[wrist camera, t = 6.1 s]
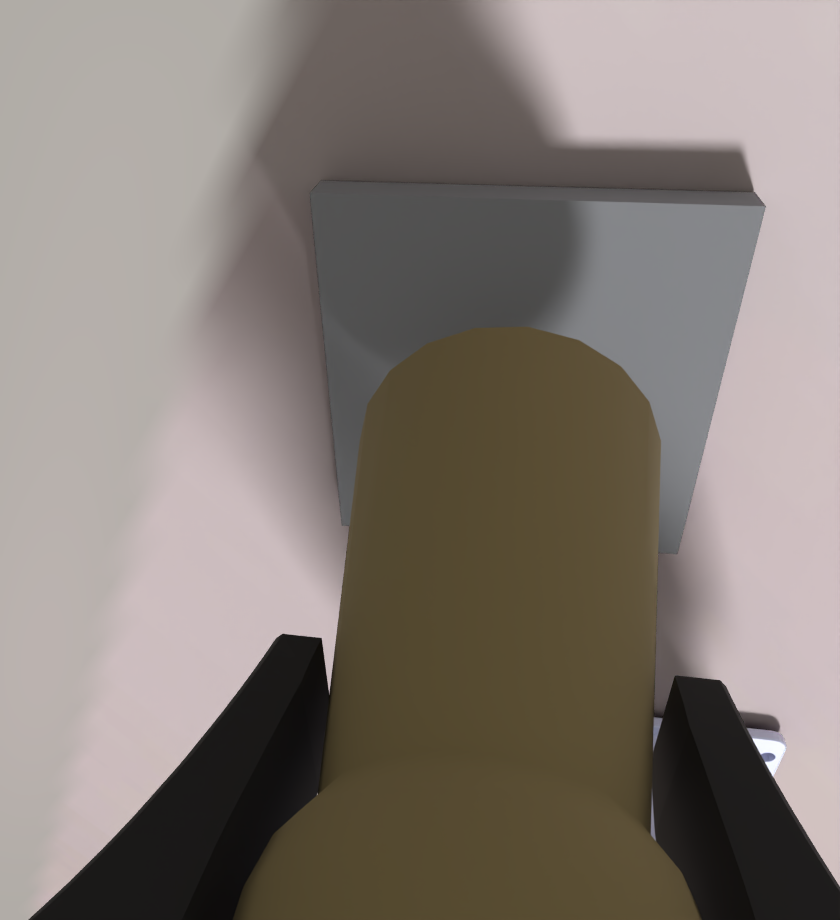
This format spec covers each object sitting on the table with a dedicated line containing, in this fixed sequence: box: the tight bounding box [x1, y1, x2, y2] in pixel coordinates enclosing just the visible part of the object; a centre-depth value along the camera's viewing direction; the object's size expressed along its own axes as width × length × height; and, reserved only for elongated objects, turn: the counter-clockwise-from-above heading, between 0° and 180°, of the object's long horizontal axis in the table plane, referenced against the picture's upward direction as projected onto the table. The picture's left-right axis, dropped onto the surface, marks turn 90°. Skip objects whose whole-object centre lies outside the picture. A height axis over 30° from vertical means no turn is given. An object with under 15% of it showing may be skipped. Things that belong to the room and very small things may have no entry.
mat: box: [310, 181, 766, 554], centre depth 19 cm, size 10×10×1 cm
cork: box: [233, 327, 702, 920], centre depth 11 cm, size 6×6×11 cm
